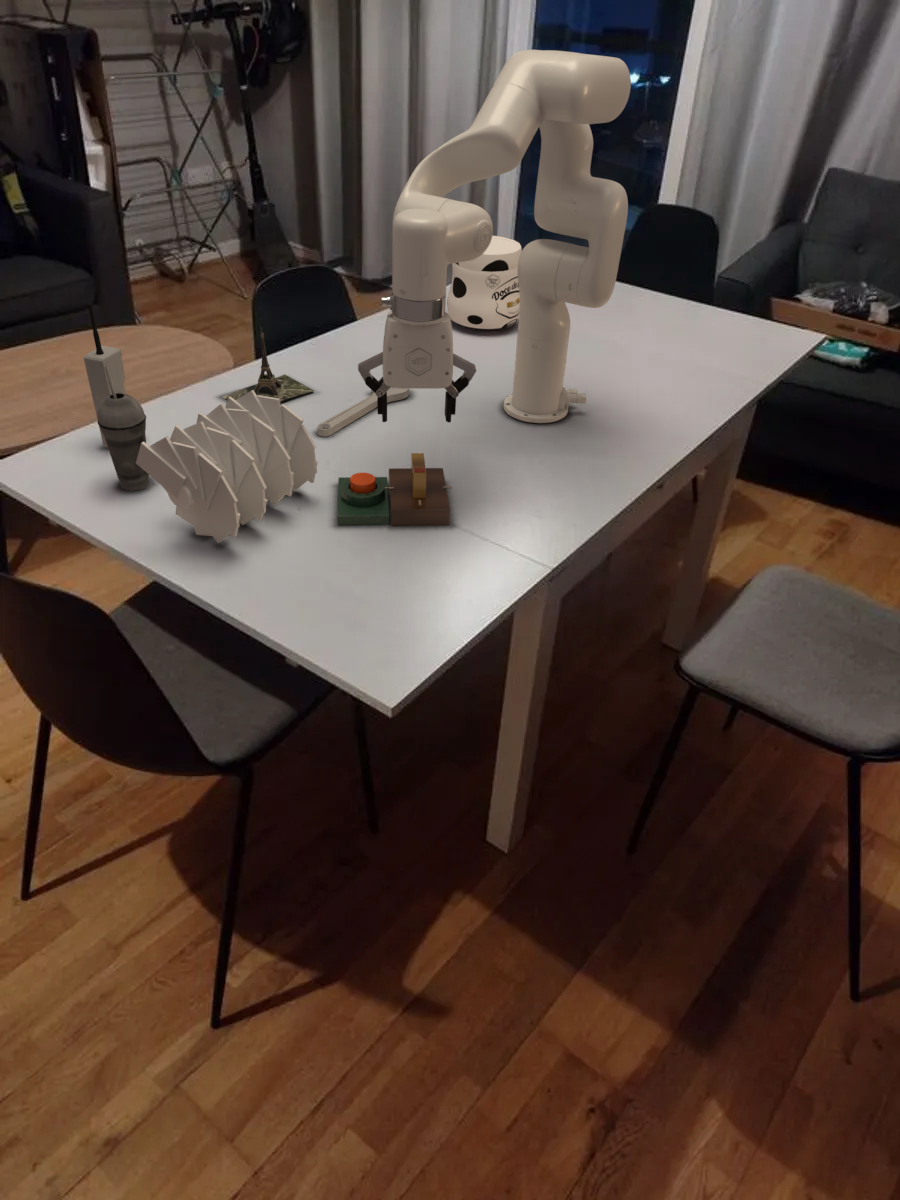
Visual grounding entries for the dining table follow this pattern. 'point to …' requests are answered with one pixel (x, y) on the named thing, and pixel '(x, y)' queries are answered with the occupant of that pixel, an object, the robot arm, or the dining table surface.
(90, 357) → the vintage mobile phone
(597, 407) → the dining table surface
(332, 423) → the adjustable wrench
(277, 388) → the eiffel tower figurine
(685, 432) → the dining table surface
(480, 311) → the milk container
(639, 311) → the dining table surface
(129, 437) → the beverage cup
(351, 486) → the button
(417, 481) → the yellow box red tab
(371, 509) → the button housing
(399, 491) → the control panel
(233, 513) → the spiral staircase
